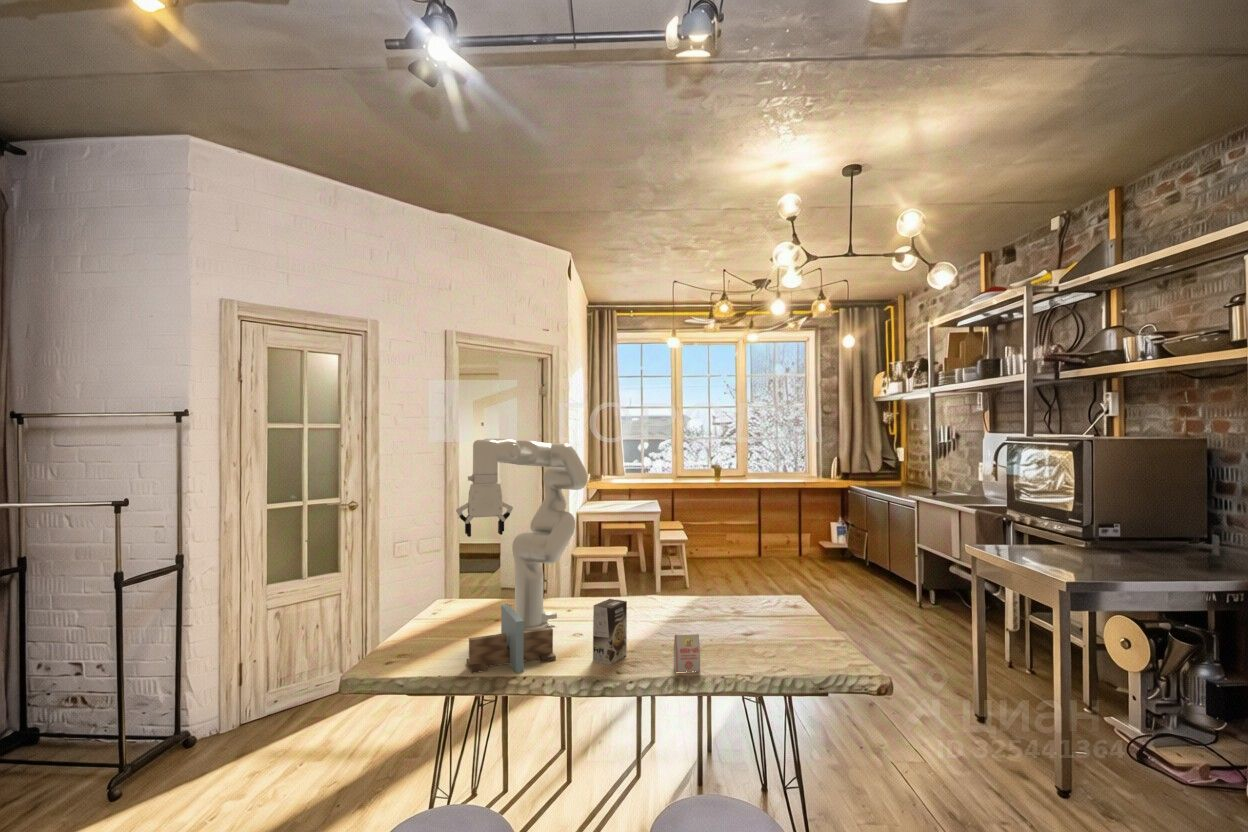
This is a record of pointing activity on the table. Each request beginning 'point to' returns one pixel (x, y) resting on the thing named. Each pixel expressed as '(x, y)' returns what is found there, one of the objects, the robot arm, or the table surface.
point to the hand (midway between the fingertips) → (484, 535)
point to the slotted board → (497, 652)
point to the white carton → (686, 653)
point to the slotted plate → (513, 636)
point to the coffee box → (609, 631)
